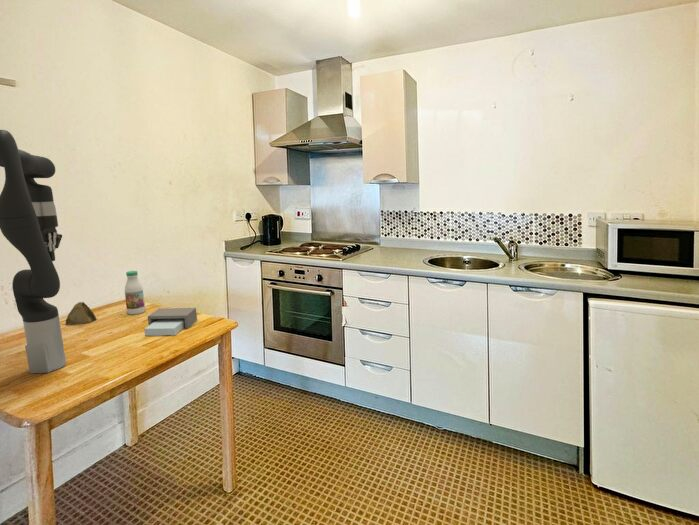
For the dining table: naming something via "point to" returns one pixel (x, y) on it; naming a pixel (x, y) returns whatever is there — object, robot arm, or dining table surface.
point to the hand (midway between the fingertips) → (51, 261)
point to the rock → (80, 314)
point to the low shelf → (174, 315)
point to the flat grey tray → (165, 327)
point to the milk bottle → (134, 294)
